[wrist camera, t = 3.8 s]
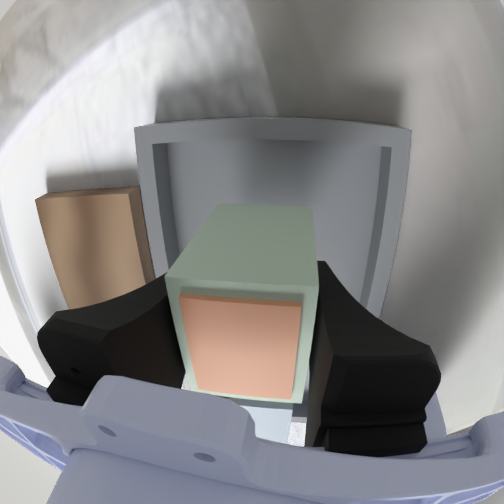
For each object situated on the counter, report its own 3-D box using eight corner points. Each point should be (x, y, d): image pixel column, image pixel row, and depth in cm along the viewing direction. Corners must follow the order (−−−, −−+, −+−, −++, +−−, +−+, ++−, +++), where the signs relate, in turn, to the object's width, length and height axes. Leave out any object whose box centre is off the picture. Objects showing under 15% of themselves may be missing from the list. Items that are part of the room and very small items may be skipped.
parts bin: (396, 126, 15) (411, 130, 12) (341, 401, 26) (342, 423, 23) (154, 123, 16) (134, 127, 14) (197, 390, 28) (190, 410, 25)
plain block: (296, 343, 22) (292, 409, 17) (292, 383, 24) (287, 443, 19) (243, 339, 22) (227, 403, 17) (245, 380, 25) (233, 438, 19)
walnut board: (139, 186, 18) (128, 193, 17) (175, 362, 26) (170, 374, 25) (47, 193, 20) (34, 199, 18) (96, 345, 27) (89, 355, 26)
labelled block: (311, 206, 13) (319, 291, 7) (304, 303, 15) (301, 407, 9) (218, 203, 13) (161, 280, 8) (225, 298, 15) (189, 395, 10)
